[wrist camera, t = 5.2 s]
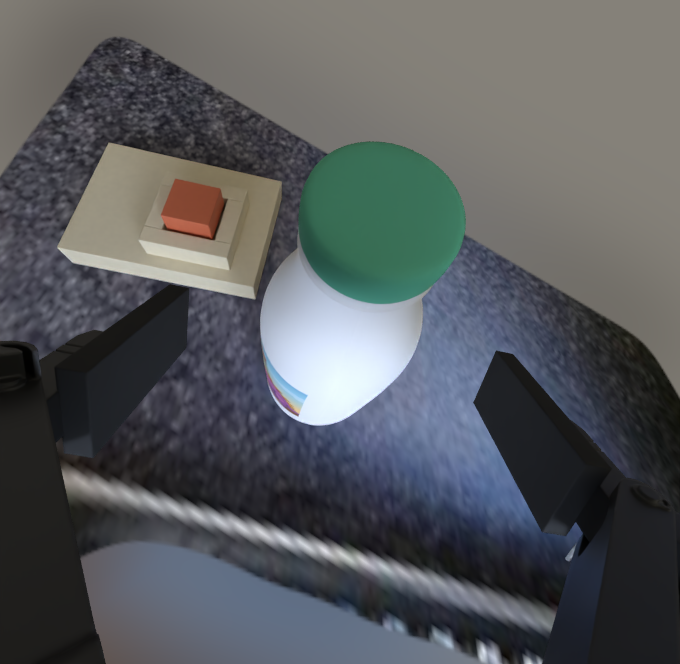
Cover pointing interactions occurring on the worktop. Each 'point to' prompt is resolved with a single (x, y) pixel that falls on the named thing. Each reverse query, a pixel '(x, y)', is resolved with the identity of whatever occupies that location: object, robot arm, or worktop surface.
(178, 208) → the red switch button
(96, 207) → the light switch
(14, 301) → the worktop surface
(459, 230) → the milk bottle
